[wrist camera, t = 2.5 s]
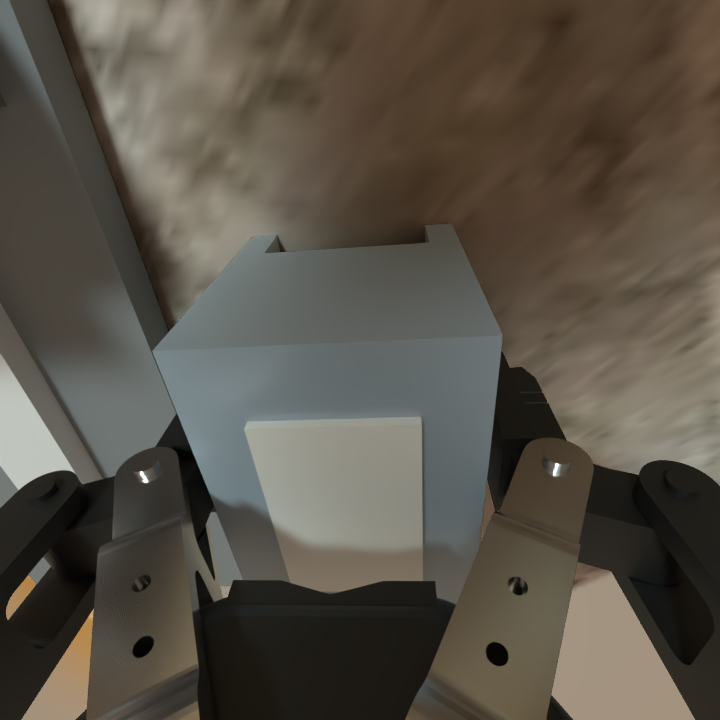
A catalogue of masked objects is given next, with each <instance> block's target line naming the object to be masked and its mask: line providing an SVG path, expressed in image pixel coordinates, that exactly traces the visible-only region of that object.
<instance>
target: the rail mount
mask: <svg viewBox="0 0 720 720" xmlns="http://www.w3.org/2000/svg"><path fill="white" fill-rule="evenodd" d="M168 332H169V331H168V328H167V326H166V323H165V320H164V317H163V315H162V312H161V309H160V307H159V304H158V301H157V298H156V296H155V293H154V290H153V287H152V285H151V282H150V279H149V277H148V274H147V271H146V268H145V266H144V263H143V260H142V257H141V255H140V252H139V249H138V247H137V244H136V241H135V238H134V236H133V233H132V230H131V228H130V225H129V222H128V219H127V217H126V214H125V211H124V208H123V206H122V203H121V200H120V198H119V195H118V192H117V189H116V187H115V184H114V181H113V179H112V176H111V173H110V170H109V168H108V165H107V162H106V159H105V157H104V154H103V151H102V149H101V146H100V143H99V140H98V138H97V135H96V132H95V130H94V127H93V124H92V121H91V119H90V116H89V113H88V110H87V108H86V105H85V102H84V100H83V97H82V94H81V91H80V89H79V86H78V83H77V81H76V78H75V75H74V72H73V70H72V67H71V64H70V61H69V59H68V56H67V53H66V51H65V48H64V45H63V42H62V40H61V37H60V34H59V32H58V29H57V26H56V23H55V21H54V18H53V15H52V12H51V10H50V7H49V4H48V2H47V0H0V508H1V507H2V506H3V505H4V504H5V503H6V502H7V501H8V500H9V499H10V498H11V497H12V496H13V495H14V494H15V493H16V492H17V491H18V490H19V489H21V488H22V487H23V486H24V485H26V484H27V483H29V482H30V481H32V480H34V479H36V478H37V477H40V476H42V475H44V474H47V473H50V472H54V471H60V470H67V471H72V472H74V473H75V474H76V475H77V477H78V478H79V480H80V481H81V483H82V484H86V483H89V482H93V481H97V480H101V479H105V478H109V477H113V476H115V475H116V472H117V470H118V469H119V467H120V466H121V465H122V464H123V463H124V462H125V461H126V460H127V459H129V458H130V457H132V456H133V455H135V454H137V453H139V452H141V451H143V450H146V449H149V448H154V447H155V446H156V445H157V443H158V441H159V440H160V438H161V437H162V435H163V434H164V432H165V431H166V429H167V427H168V426H169V424H170V423H171V421H172V420H173V418H174V417H175V415H176V414H177V412H176V409H175V407H174V404H173V402H172V399H171V397H170V394H169V392H168V389H167V387H166V384H165V382H164V379H163V377H162V374H161V372H160V369H159V367H158V365H157V362H156V360H155V357H154V355H153V352H152V351H153V350H154V348H155V347H156V346H157V345H158V344H159V343H160V342H161V340H162V339H163V338H164V337H165V336H166V335H167V334H168ZM207 525H208V527H209V530H210V535H211V540H212V545H213V550H214V556H215V561H216V566H217V571H218V577H219V582H220V586H231V585H232V582H233V580H244V578H243V576H242V573H241V571H240V568H239V566H238V563H237V561H236V558H235V556H234V553H233V551H232V548H231V546H230V543H229V541H228V538H227V536H226V533H225V531H224V529H223V526H222V524H221V521H220V519H219V516H218V514H217V512H211V513H210V516H209V518H208V521H207ZM50 567H51V566H50V565H49V563H48V562H47V561H46V560H45V559H44V557H43V558H42V559H41V560H40V561H39V562H38V564H37V565H36V566H35V567H34V569H33V570H32V571H31V572H30V573H29V576H30V577H31V578H32V580H33V581H34V582H35V583H36V584H37V583H38V582H39V581H40V580H41V578H42V577H43V576H44V575H45V573H46V572H47V571H48V570H49V568H50Z"/></svg>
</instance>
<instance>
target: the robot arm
mask: <svg viewBox="0 0 720 720" xmlns="http://www.w3.org/2000/svg"><path fill="white" fill-rule="evenodd" d="M487 480H488V484H489V488H490V492H491V496H492V500H493V504H494V508H495V512H494V514H493V515H492V518H491V520H490V522H489V525H488V527H487V530H486V532H485V535H484V537H483V539H482V542H481V544H480V547H479V549H478V552H477V554H476V557H475V559H474V562H473V564H472V567H471V569H470V572H469V574H468V577H467V579H466V582H465V584H464V587H463V589H462V591H461V594H460V596H459V599H458V601H457V604H454V603H452V602H449V601H447V600H443V599H440V598H437V594H436V584H435V581H381V582H377V583H373V584H369V585H366V586H362V587H358V588H354V589H350V590H346V591H342V592H338V593H333V594H328V593H324V592H320V591H317V590H313V589H310V588H306V587H303V586H299V585H296V584H293V583H289V582H286V581H282V580H233V582H232V585H231V588H230V592H229V595H228V597H226V598H223V595H222V591H221V587H220V582H219V577H218V571H217V566H216V561H215V556H214V550H213V545H212V540H211V535H210V530H209V527H208V525H207V521H208V518H209V516H210V513H211V512H217V511H216V509H215V506H214V504H213V501H212V499H211V496H210V494H209V491H208V489H207V486H206V484H205V481H204V479H203V476H202V474H201V471H200V469H199V466H198V464H197V461H196V459H195V456H194V454H193V451H192V449H191V447H190V444H189V442H188V439H187V437H186V434H185V432H184V429H183V427H182V424H181V422H180V419H179V417H178V414H176V415H175V417H174V418H173V420H172V421H171V423H170V424H169V426H168V427H167V429H166V431H165V432H164V434H163V435H162V437H161V438H160V440H159V441H158V443H157V445H156V446H155V447H154V448H149V449H146V450H143V451H141V452H139V453H137V454H135V455H133V456H132V457H130V458H129V459H127V460H126V461H125V462H124V463H123V464H122V465H121V466H120V467H119V469H118V470H117V472H116V475H115V476H113V477H109V478H105V479H101V480H97V481H93V482H89V483H86V484H82V483H81V481H80V480H79V478H78V477H77V475H76V474H75V473H74V472H72V471H67V470H60V471H54V472H50V473H47V474H44V475H42V476H40V477H37V478H36V479H34V480H32V481H30V482H29V483H27V484H26V485H24V486H23V487H22V488H21V489H19V490H18V491H17V492H16V493H15V494H14V495H13V496H12V497H11V498H10V499H9V500H8V501H7V502H6V503H5V504H4V505H3V506H2V507H1V508H0V720H21V719H22V718H23V716H24V714H25V713H26V711H27V710H28V708H29V707H30V705H31V704H32V702H33V701H34V699H35V697H36V696H37V694H38V693H39V691H40V690H41V688H42V687H43V685H44V684H45V682H46V681H47V679H48V678H49V676H50V674H51V673H52V671H53V670H54V668H55V667H56V665H57V664H58V662H59V661H60V659H61V658H62V656H63V654H64V653H65V651H66V650H67V648H68V647H69V645H70V644H71V642H72V641H73V639H74V638H75V636H76V635H77V633H78V632H79V630H80V628H81V627H82V625H83V624H84V622H85V621H86V619H87V618H88V616H89V615H90V613H91V612H92V610H93V609H94V614H93V629H92V644H91V657H90V672H89V685H88V700H87V701H88V702H87V709H86V710H85V711H84V712H83V713H82V714H81V715H80V716H79V717H78V718H77V719H76V720H573V719H572V718H571V717H570V716H569V715H568V713H567V712H566V711H565V710H564V709H563V708H562V706H561V705H560V704H559V703H558V702H557V701H556V700H555V699H554V698H553V696H552V695H551V693H552V687H553V682H554V678H555V672H556V668H557V663H558V657H559V652H560V647H561V642H562V637H563V632H564V627H565V622H566V617H567V612H568V607H569V602H570V597H571V592H572V587H573V582H574V577H575V572H576V567H577V562H581V563H585V564H588V565H591V566H595V567H598V568H602V569H605V570H609V571H612V573H613V575H614V577H615V579H616V580H617V582H618V584H619V586H620V587H621V589H622V591H623V593H624V595H625V596H626V598H627V600H628V602H629V603H630V605H631V607H632V609H633V610H634V612H635V614H636V616H637V617H638V619H639V621H640V623H641V624H642V626H643V628H644V630H645V631H646V633H647V635H648V637H649V639H650V640H651V642H652V644H653V646H654V647H655V649H656V651H657V653H658V654H659V656H660V658H661V660H662V662H663V663H664V665H665V667H666V669H667V670H668V672H669V674H670V675H671V677H672V679H673V681H674V683H675V684H676V686H677V688H678V690H679V692H680V693H681V695H682V697H683V699H684V700H685V702H686V704H687V706H688V707H689V709H690V711H691V713H692V715H693V716H694V718H695V720H720V486H719V485H718V484H717V483H716V482H715V481H714V480H713V479H712V478H710V477H709V476H708V475H706V474H705V473H703V472H701V471H700V470H698V469H696V468H694V467H691V466H689V465H686V464H683V463H679V462H674V461H667V460H658V461H653V462H650V463H647V464H646V465H644V466H643V467H642V469H641V471H640V473H639V475H636V474H632V473H627V472H622V471H617V470H613V469H608V468H605V467H601V466H598V465H596V464H593V462H592V460H591V458H590V457H589V455H588V454H587V453H586V452H585V451H584V450H583V449H581V448H580V447H578V446H577V445H575V444H573V443H571V442H568V441H567V440H566V438H565V436H564V434H563V432H562V430H561V428H560V426H559V424H558V422H557V420H556V418H555V416H554V414H553V412H552V410H551V408H550V406H549V404H547V400H546V398H545V396H544V394H543V393H542V390H541V388H540V386H539V384H538V382H537V380H536V378H535V377H534V376H532V375H531V374H530V373H529V372H527V371H526V370H525V369H524V368H522V367H515V368H509V366H508V363H507V361H506V359H505V356H504V354H503V352H502V351H501V358H500V367H499V376H498V385H497V394H496V403H495V412H494V421H493V430H492V439H491V448H490V458H489V467H488V476H487ZM498 511H499V512H498ZM43 557H44V559H45V560H46V561H47V562H48V563H49V565H50V566H51V567H50V568H49V570H48V571H47V572H46V573H45V575H44V576H43V577H42V578H41V580H40V581H39V582H38V583H37V585H36V586H35V587H34V589H33V590H32V591H31V593H30V594H29V595H28V596H27V597H26V599H25V600H24V601H23V602H22V604H21V605H20V606H19V608H18V609H17V610H16V611H15V613H14V614H13V615H12V616H11V617H10V619H9V620H7V618H6V607H7V604H8V601H9V599H10V597H11V596H12V594H13V593H14V591H15V590H16V589H17V588H18V586H19V585H20V584H21V583H22V582H23V581H24V579H25V578H26V577H27V576H28V575H29V573H30V572H31V571H32V570H33V569H34V567H35V566H36V565H37V564H38V562H39V561H40V560H41V559H42V558H43Z"/></svg>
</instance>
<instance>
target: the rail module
mask: <svg viewBox="0 0 720 720" xmlns="http://www.w3.org/2000/svg"><path fill="white" fill-rule="evenodd" d="M502 339H503V335H502V332H501V330H500V328H499V326H498V324H497V321H496V319H495V317H494V315H493V313H492V310H491V308H490V306H489V304H488V302H487V300H486V297H485V295H484V293H483V291H482V289H481V286H480V284H479V282H478V280H477V278H476V275H475V273H474V271H473V269H472V267H471V264H470V262H469V260H468V258H467V256H466V253H465V251H464V249H463V247H462V245H461V243H460V240H459V238H458V236H457V234H456V232H455V229H454V227H453V225H452V224H437V225H425V243H416V244H401V245H385V246H370V247H354V248H339V249H323V250H308V251H292V252H280V248H279V243H278V238H277V235H275V236H261V237H252V238H251V239H250V240H249V241H248V242H247V243H246V245H245V246H244V247H243V248H242V249H241V250H240V251H239V253H238V254H237V255H236V256H235V257H234V258H233V259H232V261H231V262H230V263H229V264H228V265H227V266H226V267H225V269H224V270H223V271H222V272H221V273H220V274H219V275H218V277H217V278H216V279H215V280H214V281H213V282H212V283H211V285H210V286H209V287H208V288H207V289H206V290H205V291H204V293H203V294H202V295H201V296H200V297H199V298H198V299H197V301H196V302H195V303H194V304H193V305H192V306H191V307H190V309H189V310H188V311H187V312H186V313H185V314H184V315H183V317H182V318H181V319H180V320H179V321H178V322H177V323H176V324H175V326H174V327H173V328H172V329H171V330H170V331H169V332H168V334H167V335H166V336H165V337H164V338H163V339H162V340H161V342H160V343H159V344H158V345H157V346H156V347H155V348H154V350H153V351H152V352H153V355H154V357H155V360H156V362H157V365H158V367H159V369H160V372H161V374H162V377H163V379H164V382H165V384H166V387H167V389H168V392H169V394H170V397H171V399H172V402H173V404H174V407H175V409H176V412H177V414H178V417H179V419H180V422H181V424H182V427H183V429H184V432H185V434H186V437H187V439H188V442H189V444H190V447H191V449H192V451H193V454H194V456H195V459H196V461H197V464H198V466H199V469H200V471H201V474H202V476H203V479H204V481H205V484H206V486H207V489H208V491H209V494H210V496H211V499H212V501H213V504H214V506H215V509H216V511H217V514H218V516H219V519H220V521H221V524H222V526H223V529H224V531H225V533H226V536H227V538H228V541H229V543H230V546H231V548H232V551H233V553H234V556H235V558H236V561H237V563H238V566H239V568H240V571H241V573H242V576H243V578H244V580H282V581H286V582H289V583H293V584H296V585H299V586H303V587H306V588H310V589H313V590H317V591H320V592H324V593H328V594H333V593H338V592H342V591H346V590H350V589H354V588H358V587H362V586H366V585H369V584H373V583H377V582H381V581H435V584H436V594H437V598H440V599H443V600H447V601H449V602H452V603H454V604H457V601H458V599H459V596H460V594H461V591H462V589H463V587H464V584H465V582H466V579H467V577H468V574H469V572H470V569H471V567H472V564H473V562H474V559H475V557H476V554H477V552H478V549H479V547H480V539H481V530H482V521H483V512H484V503H485V494H486V485H487V476H488V467H489V458H490V448H491V439H492V430H493V421H494V412H495V403H496V394H497V385H498V376H499V367H500V358H501V348H502Z"/></svg>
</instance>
